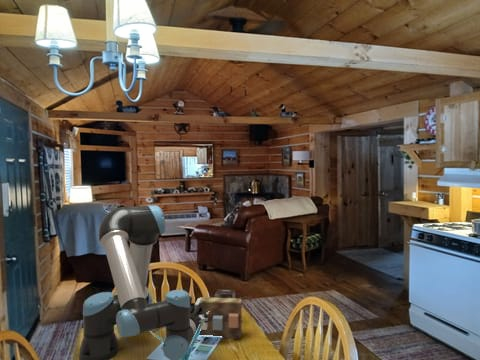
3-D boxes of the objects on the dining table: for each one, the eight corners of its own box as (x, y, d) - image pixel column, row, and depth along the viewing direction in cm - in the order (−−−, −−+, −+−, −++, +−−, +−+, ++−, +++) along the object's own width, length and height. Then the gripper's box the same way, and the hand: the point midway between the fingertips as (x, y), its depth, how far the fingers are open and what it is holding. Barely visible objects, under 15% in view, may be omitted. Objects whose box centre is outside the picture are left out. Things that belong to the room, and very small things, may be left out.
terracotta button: (228, 327, 152) (228, 316, 152) (230, 319, 160) (230, 308, 160) (237, 328, 152) (237, 316, 152) (239, 319, 160) (239, 309, 160)
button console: (198, 337, 157) (198, 300, 156) (201, 331, 163) (200, 295, 162) (240, 339, 155) (240, 302, 154) (241, 332, 161) (241, 297, 161)
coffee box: (236, 322, 172) (236, 289, 171) (233, 328, 166) (232, 294, 165) (218, 320, 174) (218, 288, 173) (214, 326, 168) (214, 293, 167)
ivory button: (197, 329, 151) (197, 317, 151) (201, 321, 159) (201, 310, 158) (206, 329, 150) (206, 318, 150) (210, 321, 158) (210, 310, 158)
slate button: (212, 330, 150) (212, 318, 150) (215, 321, 158) (215, 310, 158) (221, 330, 150) (221, 318, 150) (224, 322, 158) (224, 311, 158)
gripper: (167, 337, 122) (184, 310, 145) (204, 339, 121) (215, 311, 144) (167, 316, 121) (184, 292, 145) (204, 317, 120) (215, 293, 144)
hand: (199, 301), depth 144 cm, fingers closed
